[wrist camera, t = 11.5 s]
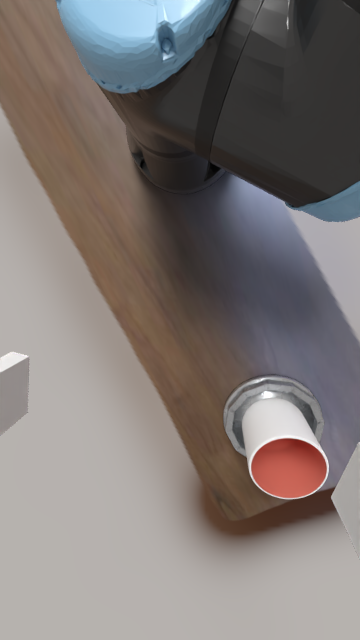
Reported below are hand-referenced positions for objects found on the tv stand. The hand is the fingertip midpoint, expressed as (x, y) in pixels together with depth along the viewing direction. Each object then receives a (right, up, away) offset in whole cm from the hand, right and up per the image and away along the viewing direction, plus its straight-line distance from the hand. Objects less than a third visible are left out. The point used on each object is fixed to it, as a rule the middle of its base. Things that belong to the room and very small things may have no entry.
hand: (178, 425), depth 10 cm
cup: (+15, -13, +33) cm, 38 cm away
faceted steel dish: (+16, -13, +33) cm, 39 cm away
